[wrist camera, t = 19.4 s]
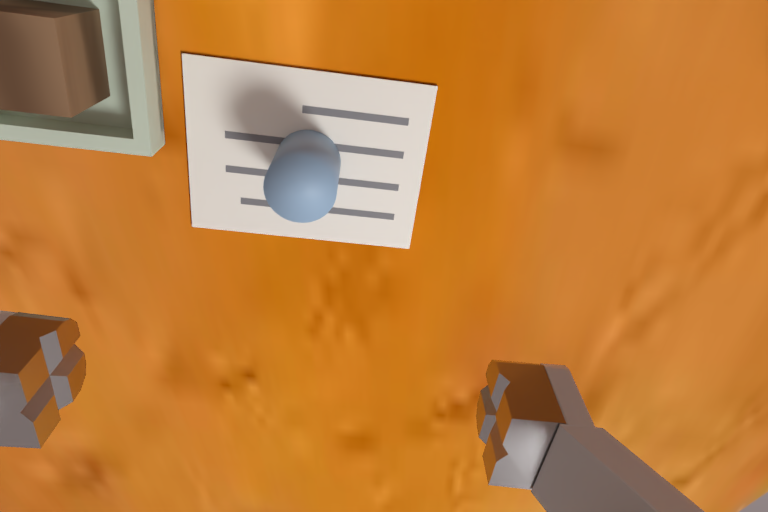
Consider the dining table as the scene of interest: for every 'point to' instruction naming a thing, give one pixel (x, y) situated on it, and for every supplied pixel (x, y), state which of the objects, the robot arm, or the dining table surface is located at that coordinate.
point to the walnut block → (51, 58)
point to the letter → (304, 112)
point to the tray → (127, 90)
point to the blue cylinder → (303, 177)
